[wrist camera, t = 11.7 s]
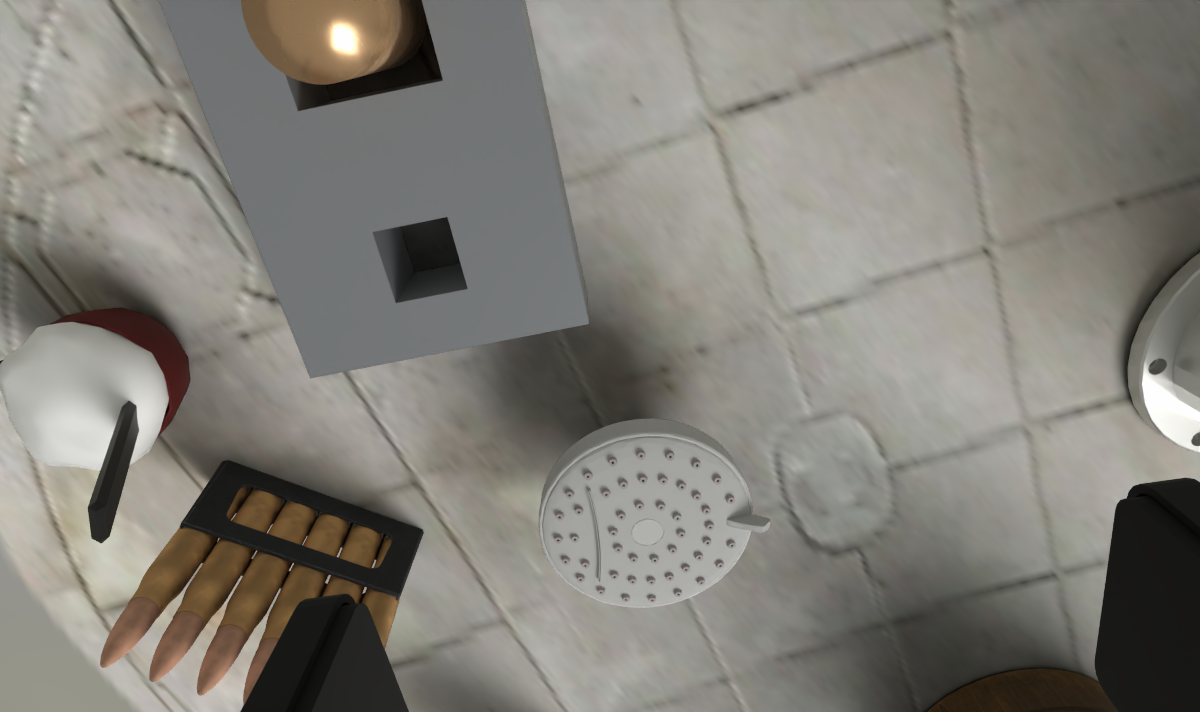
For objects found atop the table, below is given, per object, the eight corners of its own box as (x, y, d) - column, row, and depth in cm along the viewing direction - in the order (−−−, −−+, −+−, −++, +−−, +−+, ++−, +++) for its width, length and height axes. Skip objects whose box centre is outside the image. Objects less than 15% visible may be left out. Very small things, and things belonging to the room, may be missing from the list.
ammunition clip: (214, 486, 38) (70, 675, 27) (224, 458, 37) (80, 641, 26) (412, 555, 40) (354, 755, 29) (424, 530, 39) (369, 725, 28)
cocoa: (37, 360, 35) (-225, 518, 24) (70, 252, 32) (-204, 371, 22) (229, 450, 37) (67, 633, 26) (273, 353, 34) (116, 509, 23)
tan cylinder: (409, -53, 28) (354, -79, 21) (438, 58, 30) (397, 70, 22) (308, -31, 28) (218, -49, 21) (343, 78, 30) (271, 96, 22)
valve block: (489, -168, 27) (477, -198, 23) (586, 291, 34) (589, 323, 30) (173, -97, 27) (112, -116, 23) (337, 340, 34) (310, 378, 31)
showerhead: (771, 612, 33) (551, 634, 33) (737, 514, 40) (553, 532, 40) (773, 433, 29) (523, 457, 29) (735, 357, 36) (531, 377, 36)
